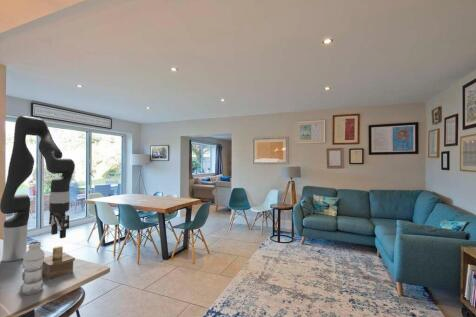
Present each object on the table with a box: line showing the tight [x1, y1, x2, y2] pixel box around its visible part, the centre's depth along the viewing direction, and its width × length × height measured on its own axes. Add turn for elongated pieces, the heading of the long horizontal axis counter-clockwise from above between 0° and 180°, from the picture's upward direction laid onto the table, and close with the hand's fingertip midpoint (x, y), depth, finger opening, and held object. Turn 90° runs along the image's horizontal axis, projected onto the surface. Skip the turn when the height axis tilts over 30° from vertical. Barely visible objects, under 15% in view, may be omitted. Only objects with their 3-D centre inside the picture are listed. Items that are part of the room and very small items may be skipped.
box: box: [42, 261, 74, 280], centre depth 110 cm, size 10×9×6 cm
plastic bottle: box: [21, 241, 45, 296], centre depth 94 cm, size 6×7×20 cm
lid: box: [43, 245, 76, 268], centre depth 110 cm, size 11×10×7 cm
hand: (58, 236), depth 110 cm, fingers open, 8 cm apart
